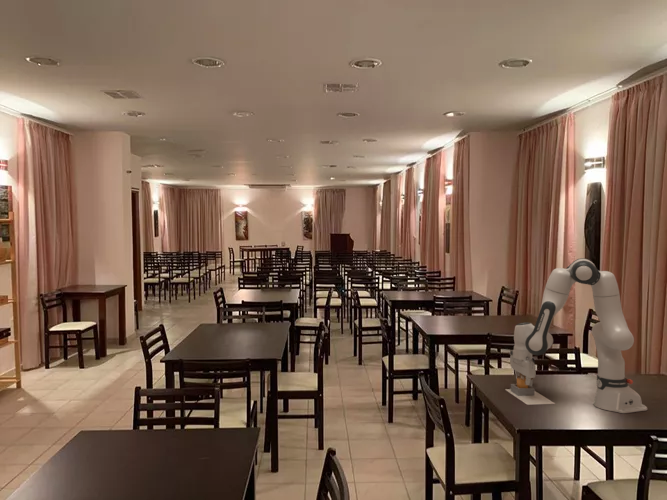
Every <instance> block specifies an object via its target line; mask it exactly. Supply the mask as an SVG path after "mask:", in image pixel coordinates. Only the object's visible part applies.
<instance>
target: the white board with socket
mask: <svg viewBox="0 0 667 500" xmlns="http://www.w3.org/2000/svg"><path fill="white" fill-rule="evenodd" d="M504 390H505V391H506V392H508V393H509V394H511V395H512V396H514V397H515V398H517V399H518V400H520V401H521V402H523V403H524V404H526V405H527V406H529V405H532V406H533V405H553V404H554V405H555V404H556V403H555V402H554V401H552V400H550V399H549V398H547V397H545V396H544V395H542V394H540V393H539V392H537V391H536V390H535V388H534V387H533V386H530V385H528V388H518V387H517V383H510V388H509V389H507V388H505V389H504Z"/></svg>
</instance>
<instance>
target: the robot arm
mask: <svg viewBox="0 0 667 500" xmlns="http://www.w3.org/2000/svg"><path fill="white" fill-rule="evenodd" d="M575 283H578V284H582V285H589V286H590V287H591V291H592V298H593V305H594V312H595V314H596V316H597V317H598V320H599V321H598V322H597V323H594V324H593V326H592V328H591V335H592V337H593V340H594V344H595V348H596V354H597V375H596V393H595V397H594V398H595V399H594V401H593V406H595V407H596V408H599V409H601V410H605V411H610V412H616V413H620V414H629V413H635V412H636V413H638V412H645V411H648V406H646V405H645V404H643V403H642V397H641V395H640V394H639V393H638V392H637V391H635V390H634V389H633V388H631V386H629V385H633V383H634V381H633V380H632V379H630V378H626V376H625V373H626V372H625V370H626V369H625V367H626V366H625V365H626V362H625V359H624V357H623V353H622V351H628V350H629V349H631V348H632V347H633V345H634V343H635V338H634V335H633V333H632V332H631V331H630V329H629V327H628V323H627V320H626V317H625V316H624V312H623V308H622V301H621V294H620V289H619V283H618V282H617V278H616V276H615V274H614V273H612V272H611V271H608V270H599V269H598V268H597V267H596V265H595V263H593V261H592V260H591V259H587V258H584V257H583V258H582V257H581V258H577V259H575V260H573V262H571V263H570V264H569V265H568V266H567V267H566V268H565V267H564V268H563V267H556V268H554V269H552V271H551V272H550V274H549V277H548V279H547V281H546V283H545V285H544V289H543V290H544V291H543V294H542V300H541V305H540V309H539V313H538V317H537V318H536V322H535V325H533V323H532V322H528V321H527V322H520V323H517V324H516V325H515V326H514V330H513V340H514V341H513V342H514V346H513V349H511V350H509V355H510V357H509V361H510V363H509V364H510V368H511V369H512V370H514V374H515V378H516V380H517V378H521V376H520V373H521V374H523V375H524V376H526V381H525V384H526V385H529V384H530V380H531V378H533V379H535V378H536V375H537V374H536V363H535V364H534V362H533V361H532V358H533V355H534V356H541V355H544V354H545V353H546V352H547V351H548V350H549V349H550V348H551V347H552V346H553V344H554V338H553V335H552V334H551V333H550V332H549V331H550V327H551V324H552V321H553V319H554V318H555V316H556V315H557V314H558V313H559V312H560V311H561V310H562V309H563V308H564V306H565V304H566V303H567V301H568V299H569V296H570V292H571V289H572V286H573V285H574V284H575Z"/></svg>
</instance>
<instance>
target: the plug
mask: <svg viewBox="0 0 667 500" xmlns="http://www.w3.org/2000/svg"><path fill="white" fill-rule="evenodd" d="M525 381H526V379H525V378H524V376H523V378H522V376H521V378H517V379H516V384H517V387H518V388H528V385H526V384H525Z"/></svg>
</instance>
